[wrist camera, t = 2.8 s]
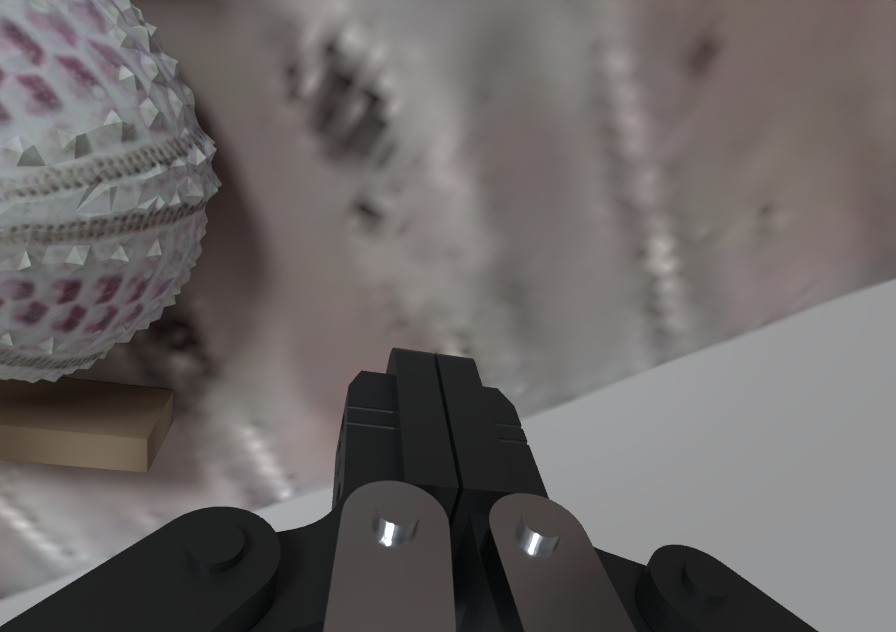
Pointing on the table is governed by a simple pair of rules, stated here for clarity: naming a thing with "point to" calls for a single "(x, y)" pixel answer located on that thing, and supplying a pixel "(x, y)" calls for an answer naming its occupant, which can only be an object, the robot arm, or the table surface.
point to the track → (83, 423)
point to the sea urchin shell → (92, 182)
